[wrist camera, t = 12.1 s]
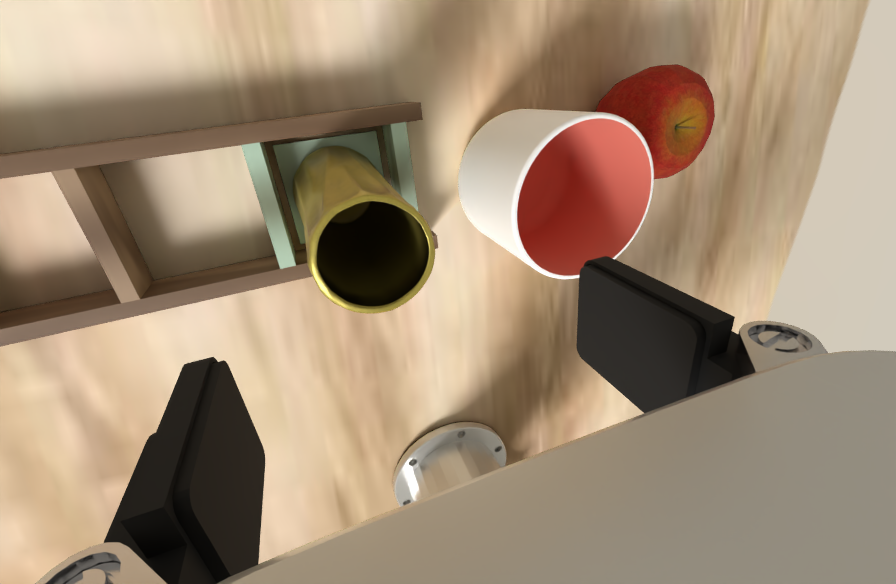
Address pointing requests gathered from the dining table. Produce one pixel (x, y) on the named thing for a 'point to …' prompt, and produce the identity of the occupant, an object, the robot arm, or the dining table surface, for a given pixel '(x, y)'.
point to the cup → (557, 186)
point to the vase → (360, 232)
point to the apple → (665, 113)
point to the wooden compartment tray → (95, 198)
